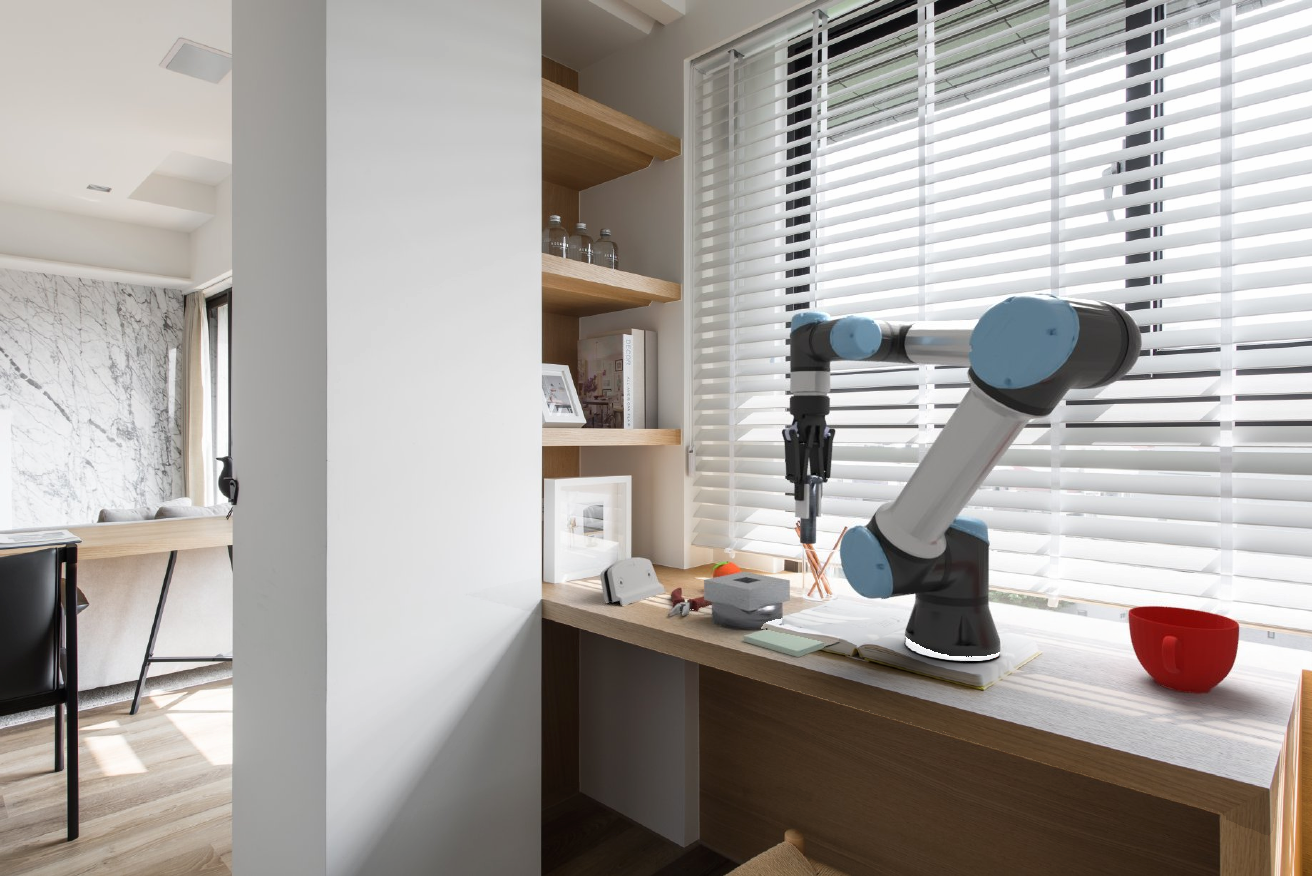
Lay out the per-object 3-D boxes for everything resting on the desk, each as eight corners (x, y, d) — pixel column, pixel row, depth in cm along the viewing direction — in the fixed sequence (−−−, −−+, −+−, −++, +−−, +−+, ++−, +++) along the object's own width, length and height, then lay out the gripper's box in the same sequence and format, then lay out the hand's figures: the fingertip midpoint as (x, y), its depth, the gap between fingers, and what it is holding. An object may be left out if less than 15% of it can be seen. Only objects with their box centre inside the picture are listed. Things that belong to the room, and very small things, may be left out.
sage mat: (839, 642, 124) (839, 636, 124) (797, 657, 116) (797, 651, 116) (786, 628, 133) (786, 623, 133) (743, 641, 125) (743, 635, 125)
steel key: (826, 544, 133) (827, 476, 133) (816, 545, 131) (817, 477, 131) (800, 539, 138) (800, 473, 138) (790, 540, 136) (790, 474, 136)
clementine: (719, 596, 159) (718, 565, 159) (703, 590, 166) (703, 560, 166) (748, 592, 163) (748, 562, 163) (732, 587, 169) (731, 557, 169)
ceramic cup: (1112, 692, 100) (1112, 622, 100) (1139, 664, 112) (1139, 601, 111) (1228, 718, 90) (1228, 641, 90) (1244, 684, 102) (1244, 616, 102)
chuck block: (797, 620, 139) (796, 580, 139) (750, 634, 130) (749, 591, 129) (744, 607, 149) (744, 570, 149) (697, 619, 140) (697, 579, 140)
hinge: (622, 607, 151) (609, 562, 153) (606, 611, 153) (594, 567, 155) (666, 592, 164) (654, 551, 166) (651, 596, 167) (639, 555, 169)
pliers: (648, 619, 143) (648, 606, 142) (676, 597, 162) (676, 585, 162) (703, 624, 139) (703, 610, 139) (724, 600, 158) (724, 589, 158)
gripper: (820, 395, 142) (818, 511, 143) (766, 394, 132) (765, 518, 133) (851, 395, 136) (849, 515, 137) (797, 393, 126) (796, 523, 127)
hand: (808, 516), depth 135 cm, fingers closed on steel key, 3 cm apart
